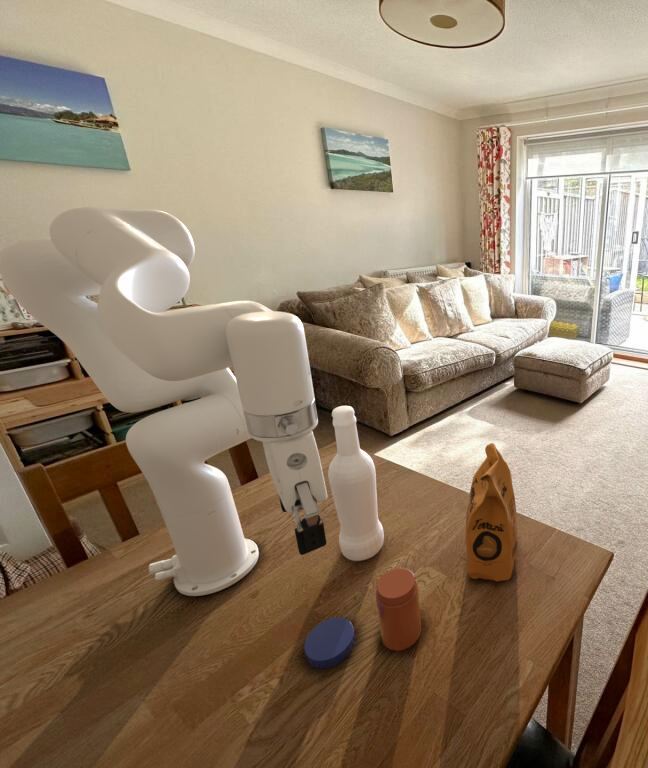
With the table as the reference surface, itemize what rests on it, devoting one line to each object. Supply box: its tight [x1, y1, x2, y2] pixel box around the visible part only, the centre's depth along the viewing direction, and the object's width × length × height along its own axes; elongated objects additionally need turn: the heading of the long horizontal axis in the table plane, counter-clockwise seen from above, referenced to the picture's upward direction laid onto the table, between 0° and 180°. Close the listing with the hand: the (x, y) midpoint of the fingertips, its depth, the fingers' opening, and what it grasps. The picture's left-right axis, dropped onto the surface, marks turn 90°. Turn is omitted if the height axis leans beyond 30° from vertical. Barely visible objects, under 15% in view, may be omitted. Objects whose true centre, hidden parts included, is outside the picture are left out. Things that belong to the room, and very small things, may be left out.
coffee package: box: [464, 442, 518, 583], centre depth 73 cm, size 10×12×22 cm
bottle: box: [327, 405, 385, 562], centre depth 73 cm, size 8×8×30 cm
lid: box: [303, 617, 356, 670], centre depth 60 cm, size 7×7×2 cm
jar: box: [375, 567, 422, 652], centre depth 61 cm, size 6×6×10 cm
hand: (303, 527), depth 55 cm, fingers open, 9 cm apart
